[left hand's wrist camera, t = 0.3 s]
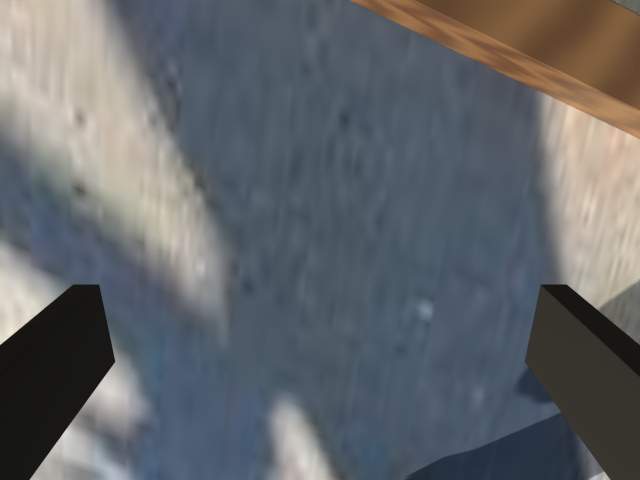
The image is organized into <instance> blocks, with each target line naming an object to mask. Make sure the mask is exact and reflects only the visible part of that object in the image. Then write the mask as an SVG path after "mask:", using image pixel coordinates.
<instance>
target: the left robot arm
mask: <svg viewBox="0 0 640 480" xmlns="http://www.w3.org/2000/svg"><path fill="white" fill-rule="evenodd" d="M114 363H115V358H114V353H113V349H112V344H111V339H110V334H109V329H108V325H107V320H106V315H105V310H104V306H103V301H102V296H101V291H100V286H99V285H72V286H71V287H70V288H69V289H67V290H66V291H65V292H64V293H63V294H61V295H60V296H59V297H58V298H57V299H55V300H54V301H53V302H52V303H51V304H49V305H48V306H47V307H46V308H44V309H43V310H42V311H41V312H40V313H38V314H37V315H36V316H35V317H34V318H32V319H31V320H30V321H29V322H28V323H26V324H25V325H24V326H23V327H22V328H20V329H19V330H18V331H17V332H16V333H14V334H13V335H12V336H11V337H10V338H8V339H7V340H6V341H5V342H3V343H2V344H1V345H0V480H30V478H31V477H32V476H33V474H34V473H35V471H36V470H37V469H38V467H39V466H40V465H41V463H42V462H43V460H44V459H45V458H46V456H47V455H48V454H49V452H50V451H51V449H52V448H53V447H54V445H55V444H56V442H57V441H58V440H59V438H60V437H61V436H62V434H63V433H64V431H65V430H66V429H67V427H68V426H69V425H70V423H71V422H72V420H73V419H74V418H75V416H76V415H77V414H78V412H79V411H80V409H81V408H82V407H83V405H84V404H85V403H86V401H87V400H88V398H89V397H90V396H91V394H92V393H93V392H94V390H95V389H96V387H97V386H98V385H99V383H100V382H101V381H102V379H103V378H104V376H105V375H106V374H107V372H108V371H109V370H110V368H111V367H112V365H113V364H114ZM525 363H526V364H527V365H528V367H529V368H530V370H531V371H532V372H533V374H534V375H535V376H536V378H537V379H538V381H539V382H540V383H541V385H542V386H543V387H544V389H545V390H546V392H547V393H548V394H549V396H550V397H551V398H552V400H553V401H554V403H555V404H556V405H557V407H558V408H559V409H560V411H561V412H562V414H563V415H564V416H565V418H566V419H567V420H568V422H569V423H570V425H571V426H572V427H573V429H574V430H575V431H576V433H577V434H578V436H579V437H580V438H581V440H582V441H583V442H584V444H585V445H586V447H587V448H588V449H589V451H590V452H591V454H592V455H593V456H594V458H595V459H596V460H597V462H598V463H599V465H600V466H601V467H602V469H603V470H604V471H605V473H606V474H607V476H608V477H609V478H610V480H640V345H639V344H638V343H637V342H635V341H634V340H633V339H632V338H630V337H629V336H628V335H627V334H626V333H624V332H623V331H622V330H621V329H620V328H618V327H617V326H616V325H615V324H614V323H612V322H611V321H610V320H609V319H608V318H606V317H605V316H604V315H603V314H602V313H600V312H599V311H598V310H597V309H596V308H594V307H593V306H592V305H591V304H589V303H588V302H587V301H586V300H585V299H583V298H582V297H581V296H580V295H579V294H577V293H576V292H575V291H574V290H573V289H571V288H570V287H569V286H568V285H541V286H540V291H539V296H538V301H537V306H536V310H535V315H534V320H533V325H532V329H531V334H530V339H529V344H528V349H527V353H526V358H525Z"/></svg>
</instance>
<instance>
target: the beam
mask: <svg viewBox="0 0 640 480" xmlns="http://www.w3.org/2000/svg"><path fill="white" fill-rule="evenodd" d="M350 1H352V2H354V3H356V4H358V5H361V6H363V7H365V8H367V9H369V10H371V11H373V12H375V13H377V14H379V15H382V16H384V17H386V18H388V19H390V20H392V21H394V22H396V23H398V24H400V25H402V26H405V27H407V28H409V29H411V30H413V31H415V32H417V33H419V34H421V35H423V36H426V37H428V38H430V39H432V40H434V41H436V42H438V43H440V44H442V45H444V46H446V47H449V48H451V49H453V50H455V51H457V52H459V53H461V54H463V55H465V56H467V57H469V58H472V59H474V60H476V61H478V62H480V63H482V64H484V65H486V66H488V67H490V68H493V69H495V70H497V71H499V72H501V73H503V74H505V75H507V76H509V77H511V78H513V79H516V80H518V81H520V82H522V83H524V84H526V85H528V86H530V87H532V88H534V89H536V90H539V91H541V92H543V93H545V94H547V95H549V96H551V97H553V98H555V99H557V100H560V101H562V102H564V103H566V104H568V105H570V106H572V107H574V108H576V109H578V110H580V111H583V112H585V113H587V114H589V115H591V116H593V117H595V118H597V119H599V120H601V121H604V122H606V123H608V124H610V125H612V126H614V127H616V128H618V129H620V130H622V131H624V132H627V133H629V134H631V135H633V136H635V137H637V138H639V139H640V15H639V14H637V13H635V12H633V11H631V10H629V9H627V8H625V7H624V6H622V5H620V4H618V3H616V2H614V1H612V0H350Z"/></svg>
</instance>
